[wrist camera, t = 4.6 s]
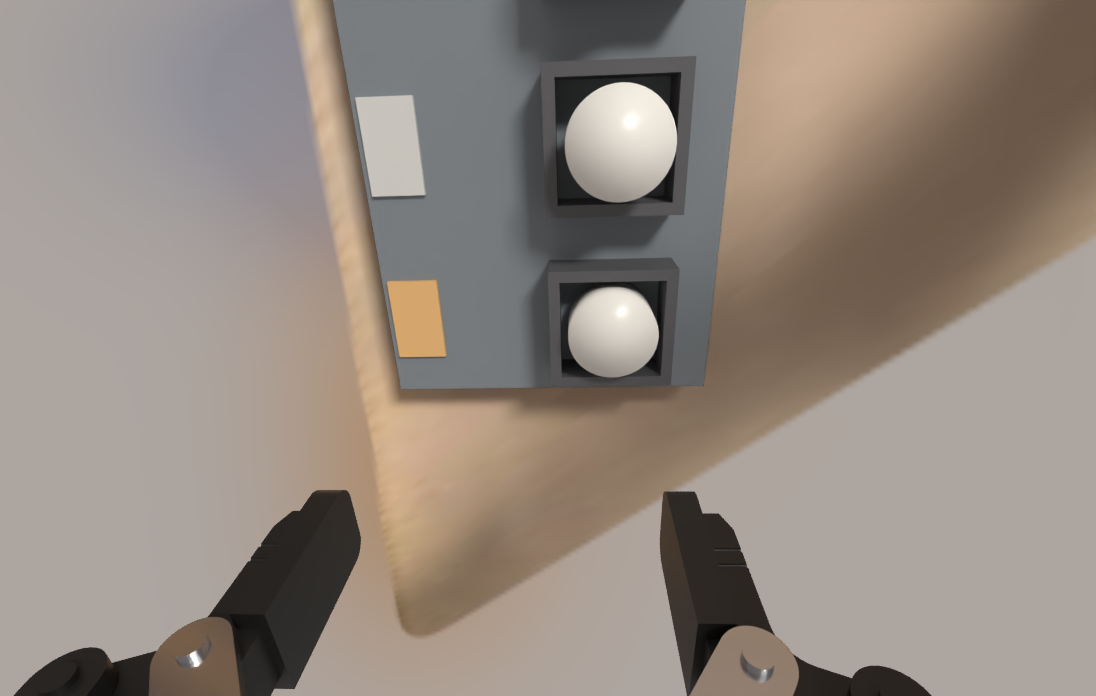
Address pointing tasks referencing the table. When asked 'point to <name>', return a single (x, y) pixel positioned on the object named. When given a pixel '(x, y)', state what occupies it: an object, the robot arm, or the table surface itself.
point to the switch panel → (534, 179)
